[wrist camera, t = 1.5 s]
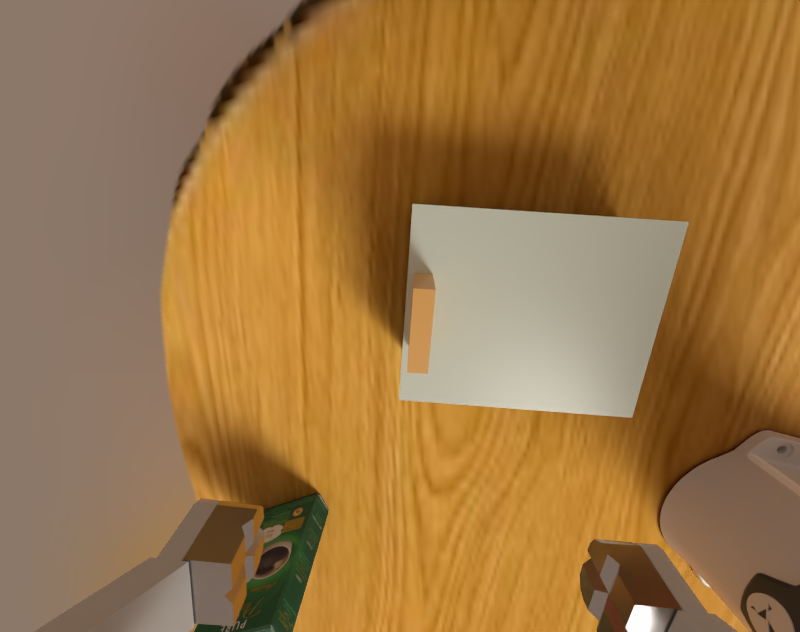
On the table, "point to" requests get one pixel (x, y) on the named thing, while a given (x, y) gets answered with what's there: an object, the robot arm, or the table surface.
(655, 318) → the lid
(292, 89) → the table surface
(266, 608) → the coffee box
